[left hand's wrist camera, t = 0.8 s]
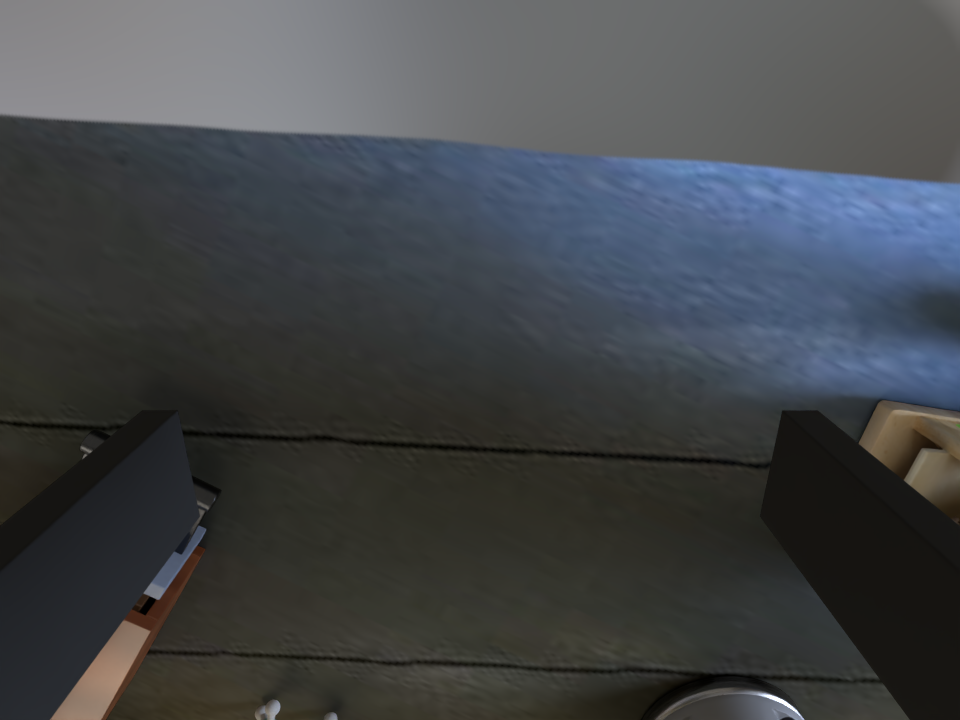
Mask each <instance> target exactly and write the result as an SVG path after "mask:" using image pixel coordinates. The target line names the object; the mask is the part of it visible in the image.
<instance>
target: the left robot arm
mask: <svg viewBox="0 0 960 720" xmlns="http://www.w3.org/2000/svg"><path fill="white" fill-rule="evenodd" d="M199 517H200V514H199V509H198V504H197V499H196V495H195V490H194V485H193V480H192V476H191V471H190V466H189V462H188V457H187V452H186V447H185V443H184V438H183V433H182V428H181V424H180V419H179V414H178V411H141V412H140V413H139V414H138V415H136V416H135V417H134V418H133V419H131V420H130V421H129V422H128V423H126V424H125V425H124V426H123V427H122V428H120V429H119V430H118V431H117V432H115V433H114V434H113V435H112V436H110V437H109V438H108V439H107V440H105V441H104V442H103V443H102V444H101V445H99V446H98V447H97V448H96V449H94V450H93V451H92V452H91V453H89V454H88V455H87V456H86V457H84V458H83V459H82V460H81V461H80V462H78V463H77V464H76V465H75V466H73V467H72V468H71V469H70V470H68V471H67V472H66V473H65V474H63V475H62V476H61V477H60V478H59V479H57V480H56V481H55V482H54V483H52V484H51V485H50V486H49V487H47V488H46V489H45V490H44V491H43V492H41V493H40V494H39V495H38V496H36V497H35V498H34V499H33V500H31V501H30V502H29V503H28V504H26V505H25V506H24V507H23V508H22V509H20V510H19V511H18V512H17V513H15V514H14V515H13V516H12V517H10V518H9V519H8V520H7V521H5V522H4V523H3V524H2V525H1V526H0V720H50V719H51V718H52V716H53V715H54V714H55V712H56V711H57V710H58V708H59V707H60V706H61V704H62V703H63V702H64V700H65V699H66V697H67V696H68V695H69V693H70V692H71V691H72V689H73V688H74V687H75V685H76V684H77V683H78V681H79V680H80V679H81V677H82V676H83V674H84V673H85V672H86V670H87V669H88V668H89V666H90V665H91V664H92V662H93V661H94V660H95V658H96V657H97V655H98V654H99V653H100V651H101V650H102V649H103V647H104V646H105V645H106V643H107V642H108V641H109V639H110V638H111V636H112V635H113V634H114V632H115V631H116V630H117V628H118V627H119V626H120V624H121V623H122V622H123V620H124V619H125V618H126V616H127V615H128V613H129V612H130V611H131V609H132V608H133V607H134V605H135V604H136V603H137V601H138V600H139V599H140V597H141V596H142V594H143V593H144V592H145V590H146V589H147V588H148V586H149V585H150V584H151V582H152V581H153V580H154V578H155V577H156V576H157V574H158V573H159V571H160V570H161V569H162V567H163V566H164V565H165V563H166V562H167V561H168V559H169V558H170V557H171V555H172V554H173V552H174V551H175V550H176V548H177V547H178V546H179V544H180V543H181V542H182V540H183V539H184V538H185V536H186V535H187V534H188V532H189V531H190V529H191V528H192V527H193V525H194V524H195V523H196V521H197V520H198V519H199ZM760 517H761V519H762V520H763V521H764V523H765V524H766V525H767V527H768V528H769V529H770V531H771V532H772V534H773V535H774V536H775V538H776V539H777V540H778V542H779V543H780V544H781V546H782V547H783V548H784V550H785V551H786V552H787V554H788V555H789V557H790V558H791V559H792V561H793V562H794V563H795V565H796V566H797V567H798V569H799V570H800V571H801V573H802V574H803V576H804V577H805V578H806V580H807V581H808V582H809V584H810V585H811V586H812V588H813V589H814V590H815V592H816V593H817V594H818V596H819V597H820V599H821V600H822V601H823V603H824V604H825V605H826V607H827V608H828V609H829V611H830V612H831V613H832V615H833V616H834V618H835V619H836V620H837V622H838V623H839V624H840V626H841V627H842V628H843V630H844V631H845V632H846V634H847V635H848V636H849V638H850V639H851V641H852V642H853V643H854V645H855V646H856V647H857V649H858V650H859V651H860V653H861V654H862V655H863V657H864V658H865V660H866V661H867V662H868V664H869V665H870V666H871V668H872V669H873V670H874V672H875V673H876V674H877V676H878V677H879V679H880V680H881V681H882V683H883V684H884V685H885V687H886V688H887V689H888V691H889V692H890V693H891V695H892V696H893V697H894V699H895V700H896V702H897V703H898V704H899V706H900V707H901V708H902V710H903V711H904V712H905V714H906V715H907V716H908V718H909V719H910V720H960V526H959V525H958V524H957V523H956V522H955V521H953V520H952V519H951V518H950V517H948V516H947V515H946V514H945V513H943V512H942V511H941V510H940V509H938V508H937V507H936V506H935V505H934V504H932V503H931V502H930V501H929V500H927V499H926V498H925V497H924V496H922V495H921V494H920V493H919V492H917V491H916V490H915V489H914V488H913V487H911V486H910V485H909V484H908V483H906V482H905V481H904V480H903V479H901V478H900V477H899V476H898V475H897V474H895V473H894V472H893V471H892V470H890V469H889V468H888V467H887V466H885V465H884V464H883V463H882V462H880V461H879V460H878V459H877V458H876V457H874V456H873V455H872V454H871V453H869V452H868V451H867V450H866V449H864V448H863V447H862V446H861V445H859V444H858V443H857V442H856V441H855V440H853V439H852V438H851V437H850V436H848V435H847V434H846V433H845V432H843V431H842V430H841V429H840V428H838V427H837V426H836V425H835V424H834V423H832V422H831V421H830V420H829V419H827V418H826V417H825V416H824V415H822V414H821V413H820V412H819V411H782V414H781V419H780V424H779V428H778V433H777V438H776V443H775V447H774V452H773V457H772V461H771V466H770V471H769V476H768V480H767V485H766V490H765V495H764V499H763V504H762V509H761V514H760ZM642 720H804V719H803V717H802V715H801V713H800V712H799V710H798V708H797V706H796V705H795V703H794V702H793V700H792V699H791V698H790V697H789V696H788V695H787V694H786V693H784V692H783V691H782V690H780V689H779V688H777V687H775V686H773V685H771V684H769V683H766V682H764V681H760V680H757V679H752V678H747V677H736V676H726V677H714V678H708V679H703V680H699V681H696V682H693V683H690V684H687V685H684V686H682V687H680V688H678V689H676V690H674V691H672V692H670V693H669V694H667V695H665V696H664V697H663V698H661V699H660V700H659V701H657V702H656V703H655V704H654V705H653V706H652V707H651V708H650V709H649V710H648V712H647V713H646V714H645V715H644V717H643V719H642Z"/></svg>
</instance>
